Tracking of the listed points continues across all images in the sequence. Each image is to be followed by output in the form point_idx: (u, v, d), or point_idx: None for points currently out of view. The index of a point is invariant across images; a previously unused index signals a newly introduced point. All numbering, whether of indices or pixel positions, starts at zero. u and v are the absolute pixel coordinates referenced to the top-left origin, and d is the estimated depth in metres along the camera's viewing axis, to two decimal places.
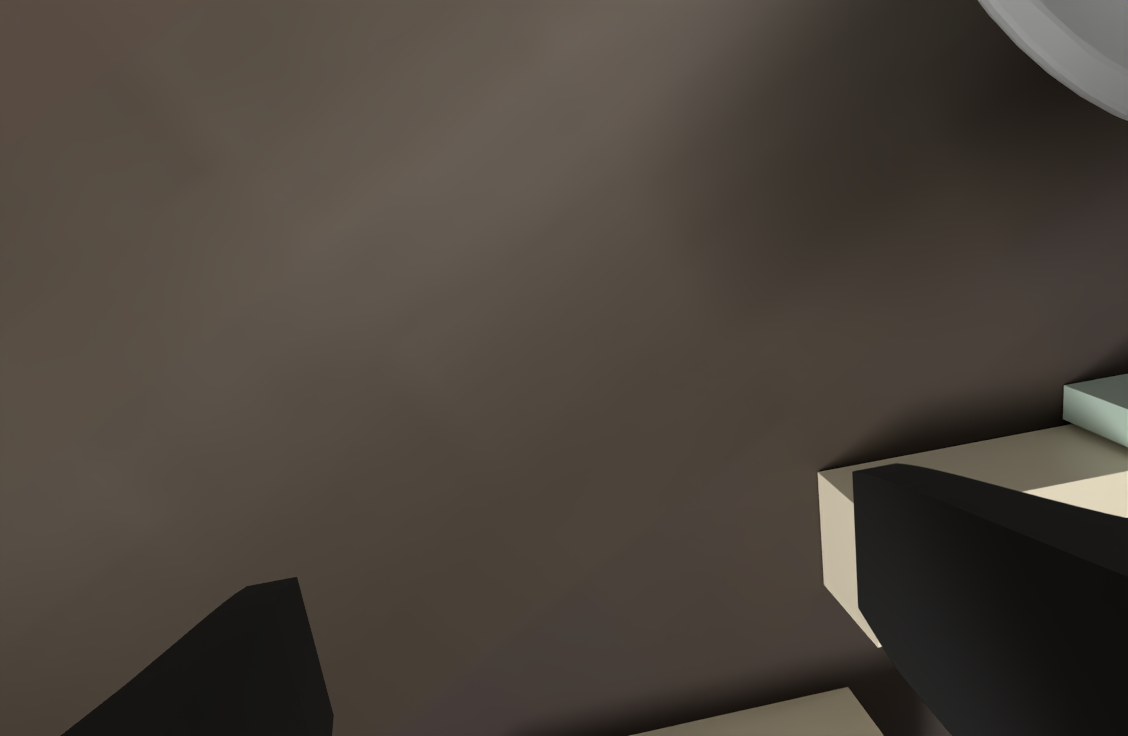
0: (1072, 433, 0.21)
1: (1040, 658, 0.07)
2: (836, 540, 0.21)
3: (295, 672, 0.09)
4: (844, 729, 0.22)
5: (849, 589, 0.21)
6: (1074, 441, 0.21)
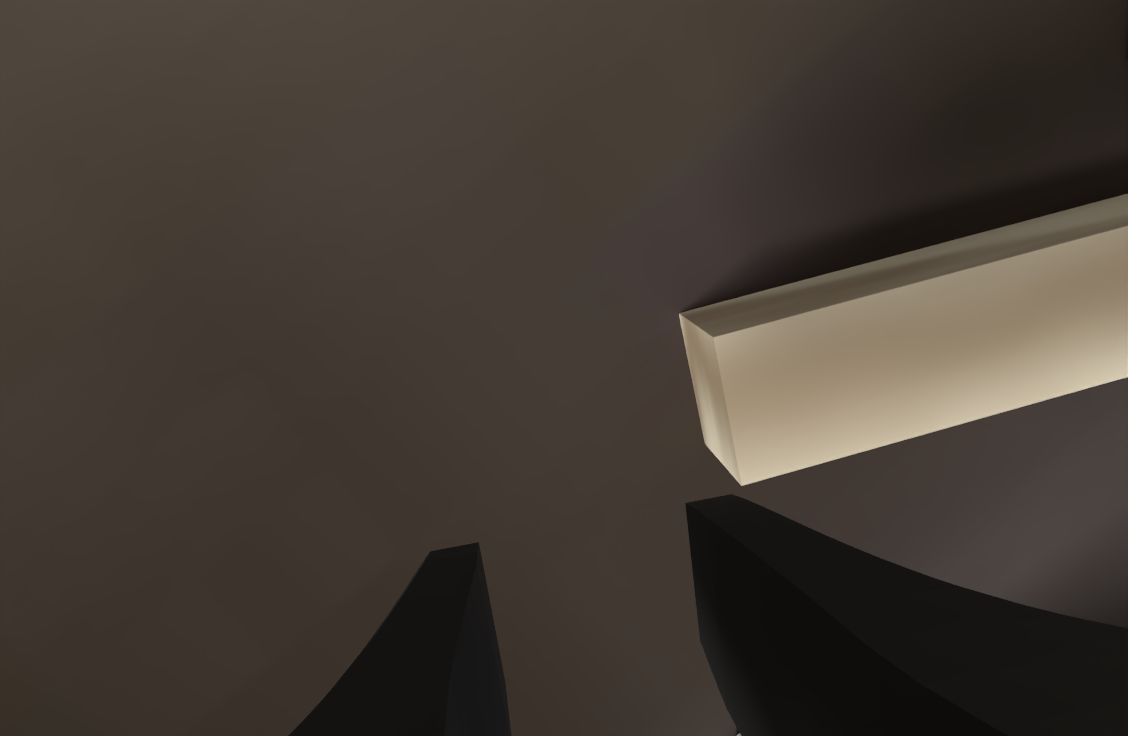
0: None
1: (810, 707, 0.07)
2: None
3: (490, 633, 0.09)
4: None
5: None
6: None
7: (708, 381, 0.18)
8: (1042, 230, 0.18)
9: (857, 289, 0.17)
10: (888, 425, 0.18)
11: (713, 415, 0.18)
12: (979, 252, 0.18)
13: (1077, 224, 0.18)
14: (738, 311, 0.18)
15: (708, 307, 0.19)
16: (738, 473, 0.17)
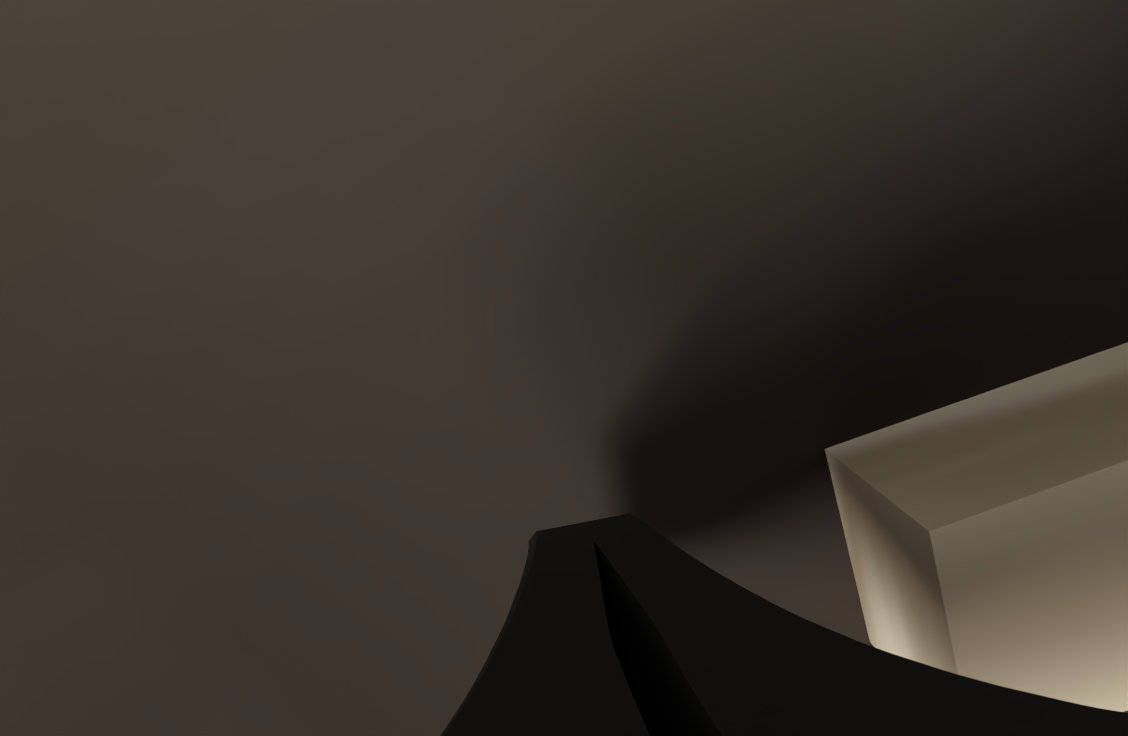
0: None
1: None
2: None
3: None
4: None
5: None
6: None
7: (898, 578, 0.10)
8: None
9: None
10: None
11: (904, 627, 0.11)
12: None
13: None
14: (942, 455, 0.10)
15: (875, 438, 0.11)
16: None
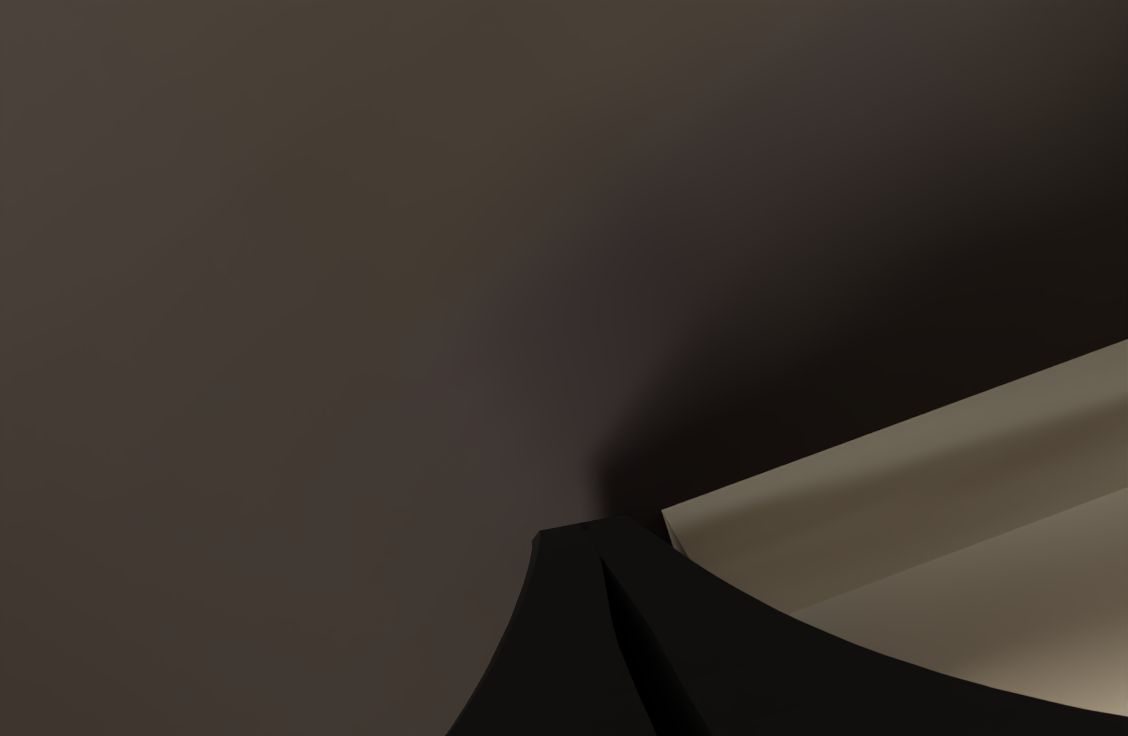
0: None
1: None
2: None
3: None
4: None
5: None
6: None
7: None
8: None
9: (1008, 492, 0.09)
10: None
11: None
12: None
13: None
14: (776, 533, 0.10)
15: (719, 508, 0.11)
16: None
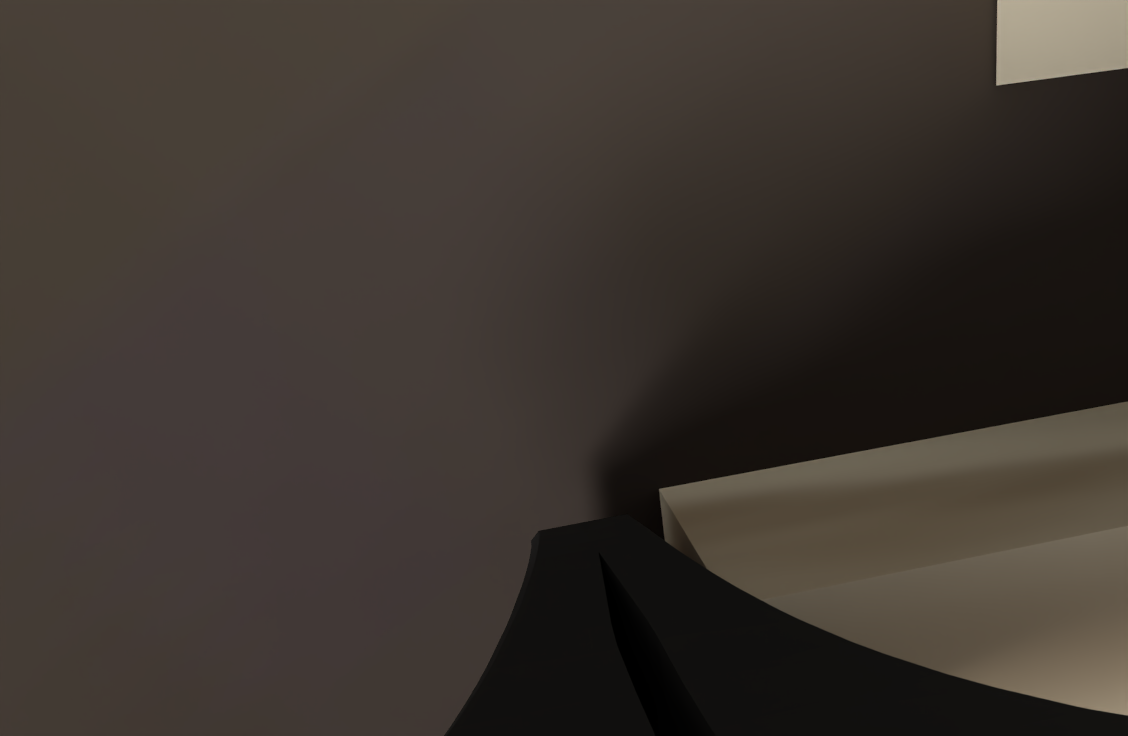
0: None
1: None
2: None
3: None
4: None
5: None
6: None
7: None
8: None
9: (1010, 515, 0.09)
10: None
11: None
12: None
13: None
14: (775, 523, 0.10)
15: (717, 494, 0.11)
16: None
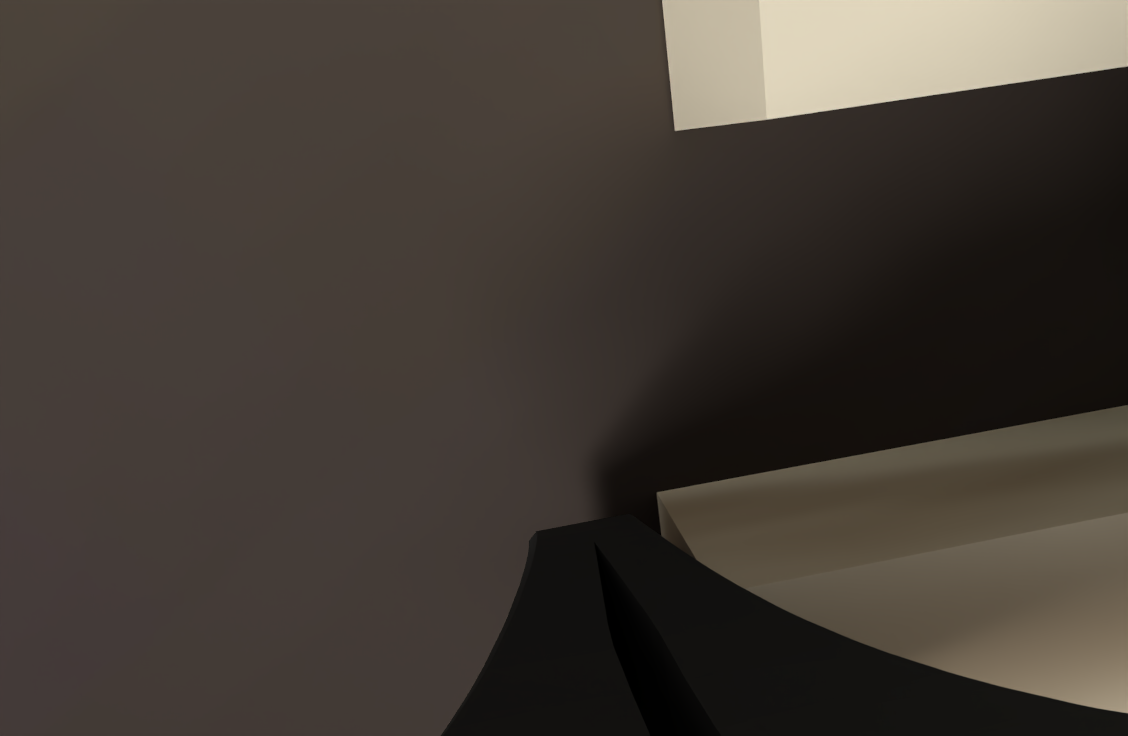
0: None
1: None
2: None
3: None
4: None
5: (708, 43, 0.08)
6: None
7: None
8: None
9: (990, 507, 0.09)
10: None
11: None
12: None
13: None
14: (763, 515, 0.10)
15: (708, 488, 0.11)
16: None
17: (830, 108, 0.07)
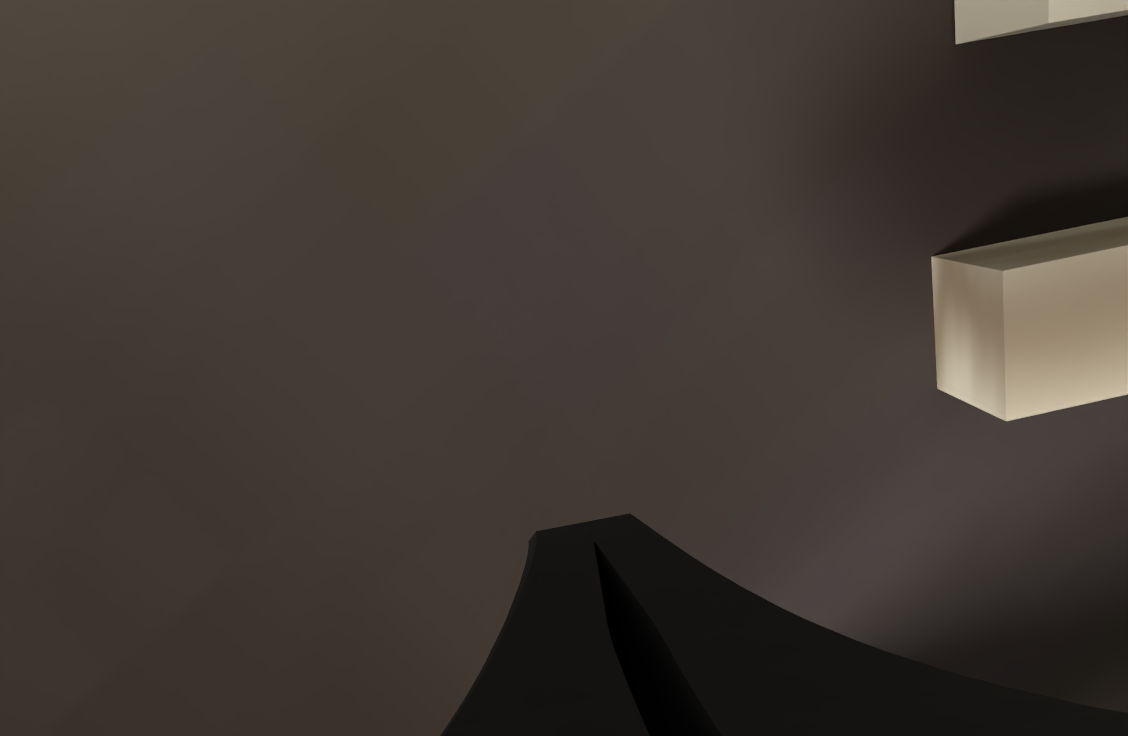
0: None
1: None
2: None
3: None
4: None
5: None
6: None
7: (972, 319, 0.18)
8: None
9: None
10: None
11: (969, 354, 0.19)
12: None
13: None
14: (1004, 254, 0.18)
15: (962, 252, 0.19)
16: (1004, 409, 0.18)
17: (1075, 17, 0.15)
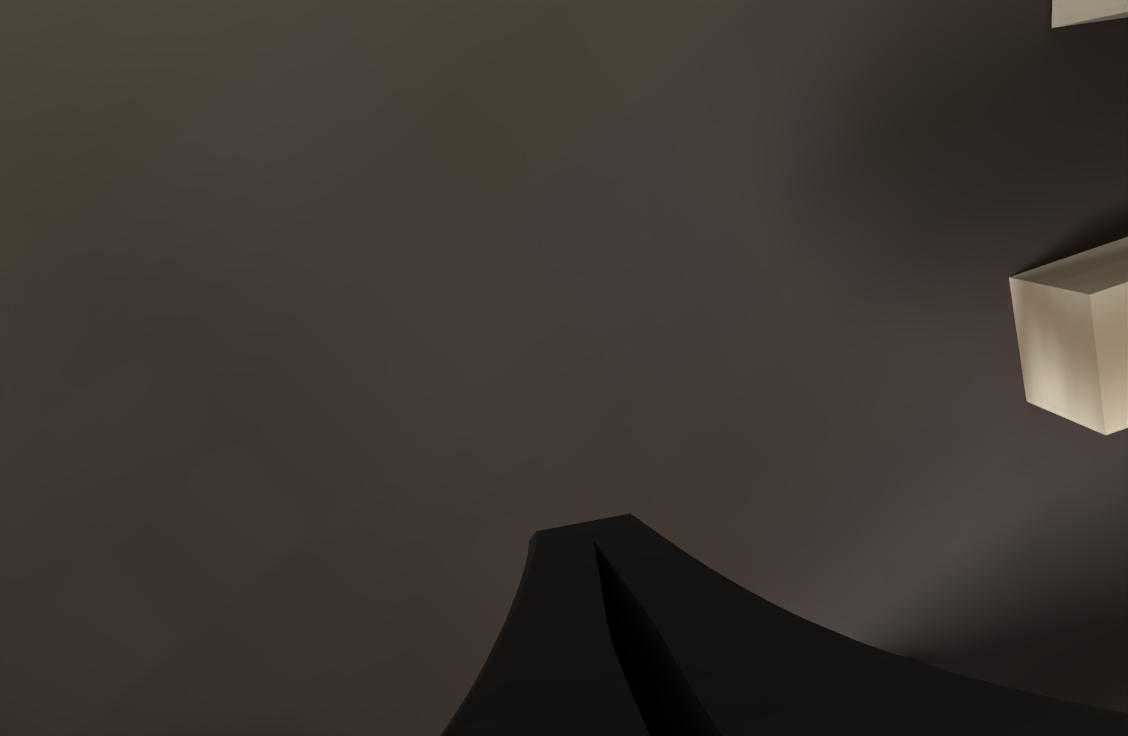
0: None
1: None
2: None
3: None
4: None
5: None
6: None
7: (1060, 338, 0.19)
8: None
9: None
10: None
11: (1059, 371, 0.19)
12: None
13: None
14: (1084, 270, 0.19)
15: (1039, 269, 0.20)
16: (1102, 423, 0.18)
17: None
